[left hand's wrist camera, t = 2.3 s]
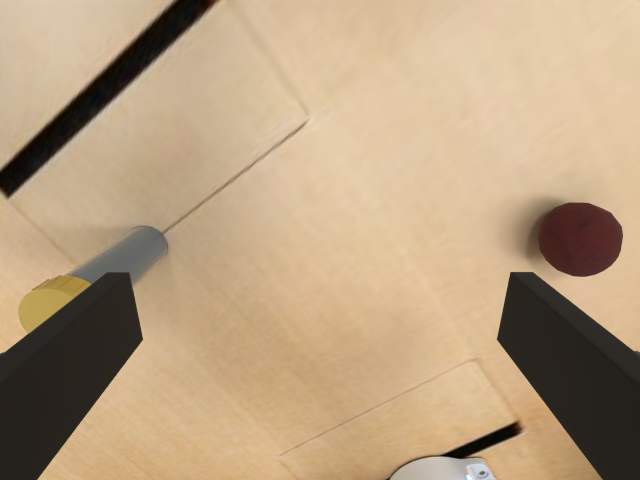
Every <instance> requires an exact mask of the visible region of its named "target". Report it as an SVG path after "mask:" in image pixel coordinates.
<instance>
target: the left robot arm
mask: <svg viewBox="0 0 640 480" xmlns="http://www.w3.org/2000/svg"><path fill="white" fill-rule="evenodd" d="M142 340H143V337H142V332H141V327H140V322H139V317H138V312H137V307H136V302H135V297H134V292H133V287H132V282H131V278H130V273H129V272H107V273H105V274H104V275H103V276H102V277H100V278H99V279H98V280H97V281H95V282H94V283H93V284H91V285H90V286H89V287H88V288H86V289H85V290H84V291H83V292H81V293H80V294H79V295H77V296H76V297H75V298H74V299H72V300H71V301H70V302H68V303H67V304H66V305H65V306H63V307H62V308H61V309H60V310H58V311H57V312H56V313H54V314H53V315H52V316H51V317H49V318H48V319H47V320H45V321H44V322H43V323H42V324H40V325H39V326H38V327H37V328H35V329H34V330H33V331H31V332H30V333H29V334H28V335H26V336H25V337H24V338H22V339H21V340H20V341H19V342H17V343H16V344H15V345H14V346H12V347H11V348H10V349H8V350H7V351H6V352H5V353H1V354H0V480H37V479H38V478H39V476H40V475H41V474H42V473H43V471H44V470H45V469H46V467H47V466H48V465H49V463H50V462H51V461H52V459H53V458H54V457H55V455H56V454H57V453H58V451H59V450H60V449H61V447H62V446H63V445H64V443H65V442H66V441H67V439H68V438H69V437H70V435H71V434H72V433H73V432H74V430H75V429H76V428H77V426H78V425H79V424H80V422H81V421H82V420H83V418H84V417H85V416H86V414H87V413H88V412H89V410H90V409H91V408H92V406H93V405H94V404H95V402H96V401H97V400H98V398H99V397H100V396H101V394H102V393H103V392H104V391H105V389H106V388H107V387H108V385H109V384H110V383H111V381H112V380H113V379H114V377H115V376H116V375H117V373H118V372H119V371H120V369H121V368H122V367H123V365H124V364H125V363H126V361H127V360H128V359H129V357H130V356H131V355H132V353H133V352H134V351H135V350H136V348H137V347H138V346H139V344H140V343H141V342H142ZM497 340H498V342H499V343H500V344H501V346H502V347H503V348H504V350H505V351H506V352H507V353H508V355H509V356H510V357H511V359H512V360H513V361H514V363H515V364H516V365H517V367H518V368H519V369H520V371H521V372H522V373H523V375H524V376H525V377H526V379H527V380H528V381H529V383H530V384H531V385H532V387H533V388H534V389H535V391H536V392H537V393H538V394H539V396H540V397H541V398H542V400H543V401H544V402H545V404H546V405H547V406H548V408H549V409H550V410H551V412H552V413H553V414H554V416H555V417H556V418H557V420H558V421H559V422H560V424H561V425H562V426H563V428H564V429H565V430H566V432H567V433H568V434H569V435H570V437H571V438H572V439H573V441H574V442H575V443H576V445H577V446H578V447H579V449H580V450H581V451H582V453H583V454H584V455H585V457H586V458H587V459H588V461H589V462H590V463H591V465H592V466H593V467H594V469H595V470H596V471H597V473H598V474H599V475H600V476H601V478H602V479H603V480H640V352H638V351H633V350H632V349H630V348H629V347H628V346H626V345H625V344H624V343H623V342H621V341H620V340H619V339H618V338H616V337H615V336H614V335H612V334H611V333H610V332H609V331H607V330H606V329H605V328H603V327H602V326H601V325H600V324H598V323H597V322H596V321H595V320H593V319H592V318H591V317H589V316H588V315H587V314H586V313H584V312H583V311H582V310H580V309H579V308H578V307H577V306H575V305H574V304H573V303H572V302H570V301H569V300H568V299H566V298H565V297H564V296H563V295H561V294H560V293H559V292H557V291H556V290H555V289H554V288H552V287H551V286H550V285H549V284H547V283H546V282H545V281H543V280H542V279H541V278H540V277H538V276H537V275H536V274H535V273H533V272H511V273H510V277H509V282H508V287H507V292H506V297H505V302H504V307H503V312H502V317H501V322H500V327H499V332H498V337H497Z"/></svg>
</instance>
